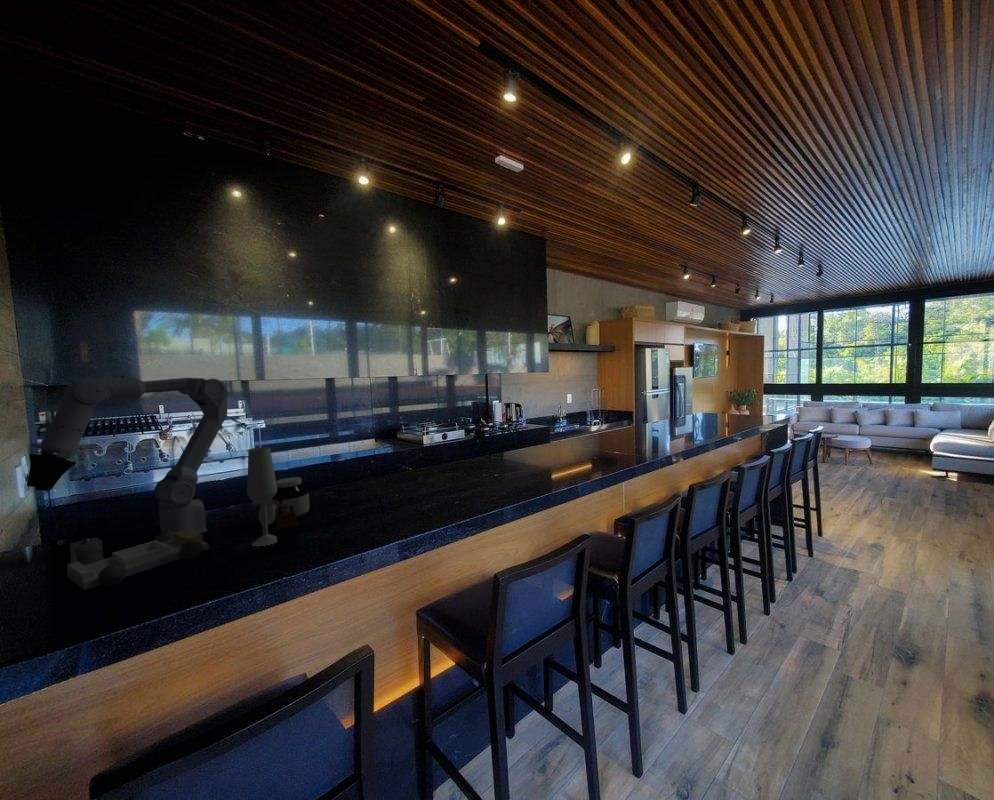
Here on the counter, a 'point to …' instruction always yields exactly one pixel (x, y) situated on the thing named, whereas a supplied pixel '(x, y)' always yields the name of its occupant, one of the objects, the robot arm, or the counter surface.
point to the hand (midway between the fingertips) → (37, 488)
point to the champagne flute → (261, 487)
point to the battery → (286, 527)
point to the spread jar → (288, 499)
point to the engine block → (85, 548)
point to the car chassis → (135, 559)
